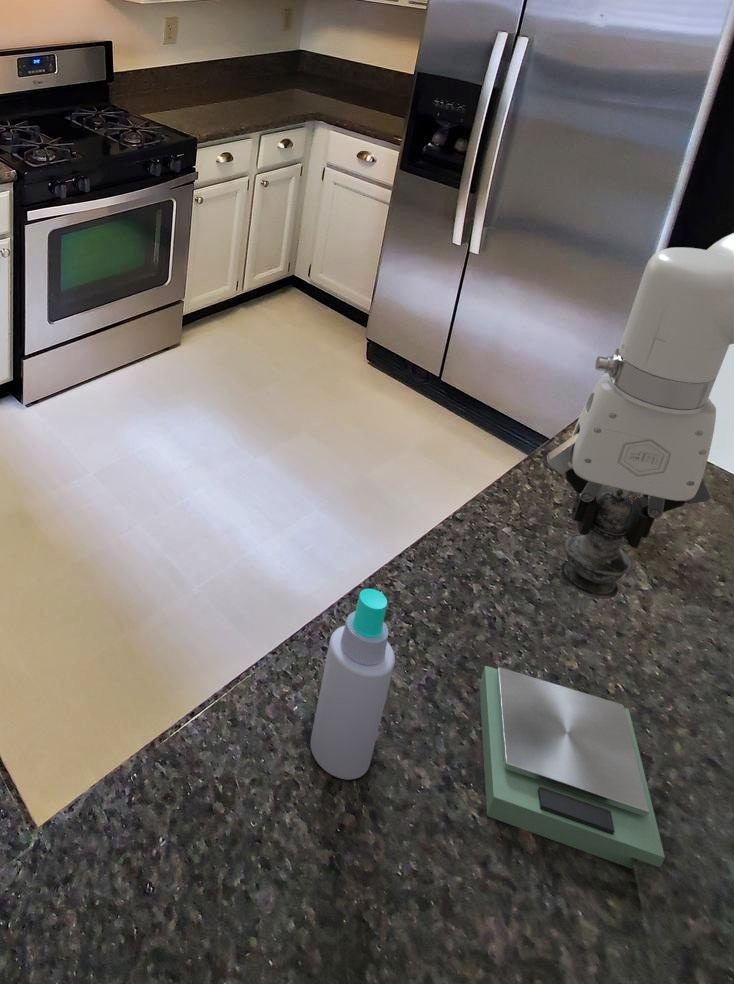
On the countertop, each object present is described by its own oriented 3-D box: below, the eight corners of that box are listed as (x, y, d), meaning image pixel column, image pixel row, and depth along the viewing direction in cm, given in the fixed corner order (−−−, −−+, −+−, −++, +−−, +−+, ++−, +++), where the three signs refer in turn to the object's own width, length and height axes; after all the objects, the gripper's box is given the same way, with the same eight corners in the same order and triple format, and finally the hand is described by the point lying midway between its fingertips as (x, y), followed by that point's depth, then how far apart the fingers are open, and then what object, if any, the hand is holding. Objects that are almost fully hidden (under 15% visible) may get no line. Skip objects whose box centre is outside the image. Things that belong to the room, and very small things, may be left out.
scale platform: (621, 709, 84) (623, 704, 84) (646, 817, 74) (649, 812, 74) (496, 671, 89) (498, 666, 88) (504, 768, 79) (506, 763, 78)
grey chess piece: (558, 551, 88) (587, 463, 83) (621, 573, 85) (655, 482, 80) (555, 586, 83) (585, 494, 78) (621, 610, 80) (657, 516, 75)
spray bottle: (297, 741, 85) (326, 587, 76) (339, 718, 87) (372, 566, 78) (338, 792, 80) (374, 634, 71) (382, 765, 82) (422, 609, 73)
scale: (620, 727, 86) (630, 705, 85) (655, 877, 73) (667, 853, 71) (479, 683, 91) (486, 661, 90) (486, 816, 78) (495, 792, 76)
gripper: (562, 379, 74) (517, 532, 81) (785, 421, 68) (713, 583, 75) (554, 343, 80) (512, 488, 88) (757, 378, 74) (693, 532, 81)
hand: (606, 530), depth 81 cm, fingers closed on grey chess piece, 3 cm apart
